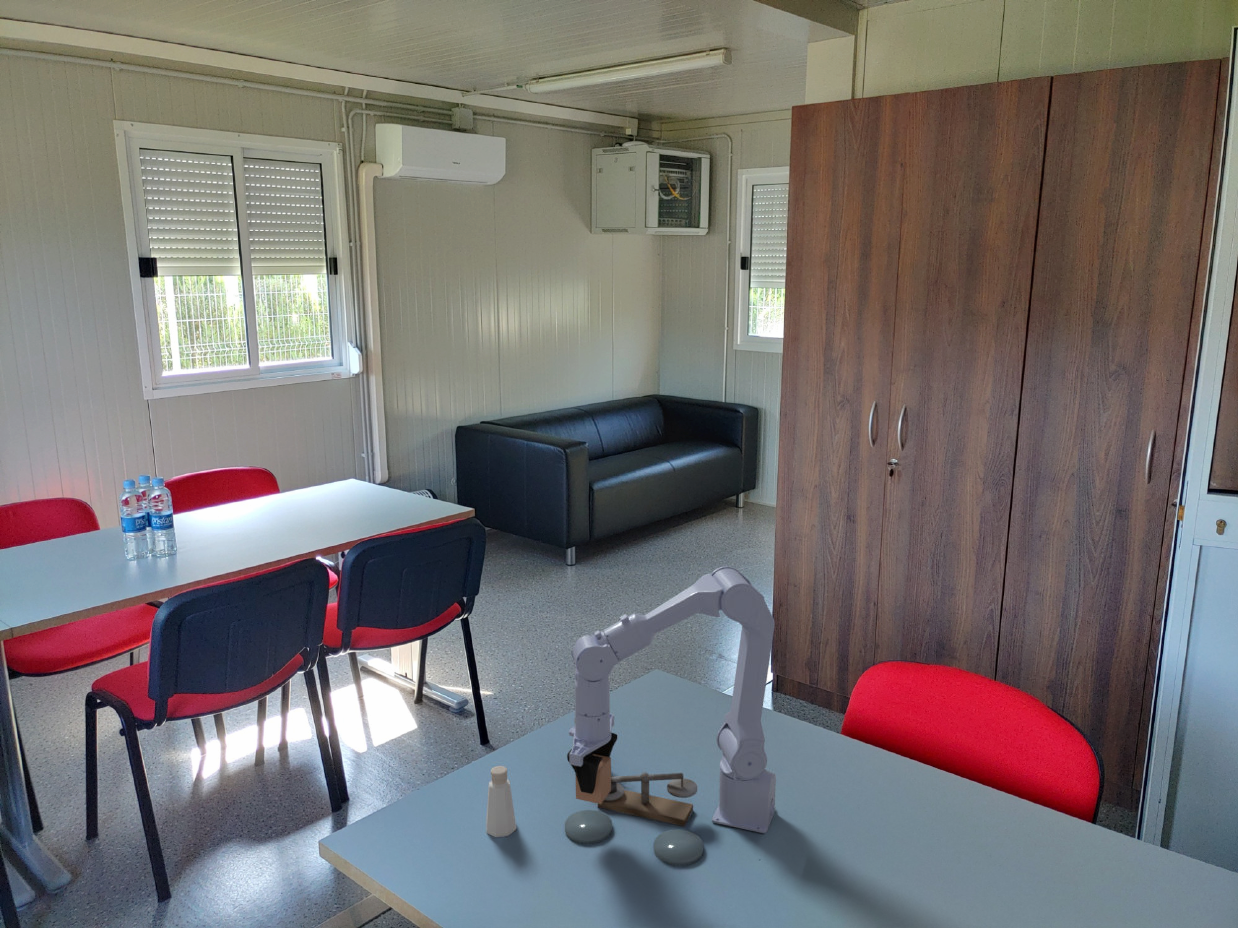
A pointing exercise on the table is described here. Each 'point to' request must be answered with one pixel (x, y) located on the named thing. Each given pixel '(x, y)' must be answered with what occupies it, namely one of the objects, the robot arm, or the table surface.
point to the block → (598, 783)
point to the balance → (652, 798)
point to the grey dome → (588, 826)
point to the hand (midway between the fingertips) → (593, 783)
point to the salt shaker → (500, 804)
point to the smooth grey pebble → (678, 847)
